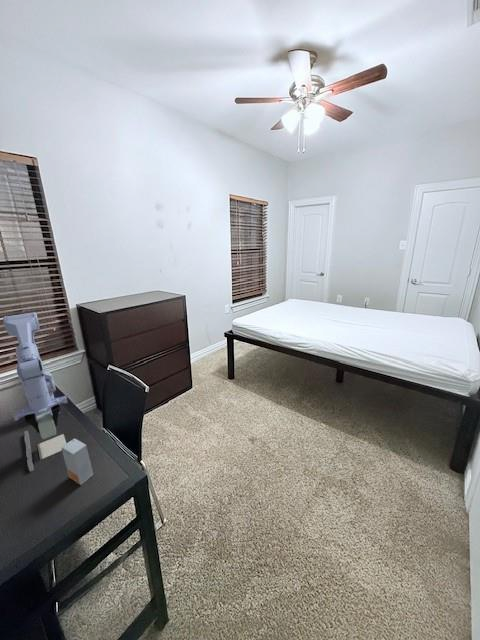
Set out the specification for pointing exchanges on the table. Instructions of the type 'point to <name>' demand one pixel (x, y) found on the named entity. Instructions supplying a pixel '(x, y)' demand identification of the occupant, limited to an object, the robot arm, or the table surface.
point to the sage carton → (46, 425)
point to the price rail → (28, 451)
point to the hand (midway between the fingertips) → (47, 427)
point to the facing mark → (51, 446)
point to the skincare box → (77, 461)
